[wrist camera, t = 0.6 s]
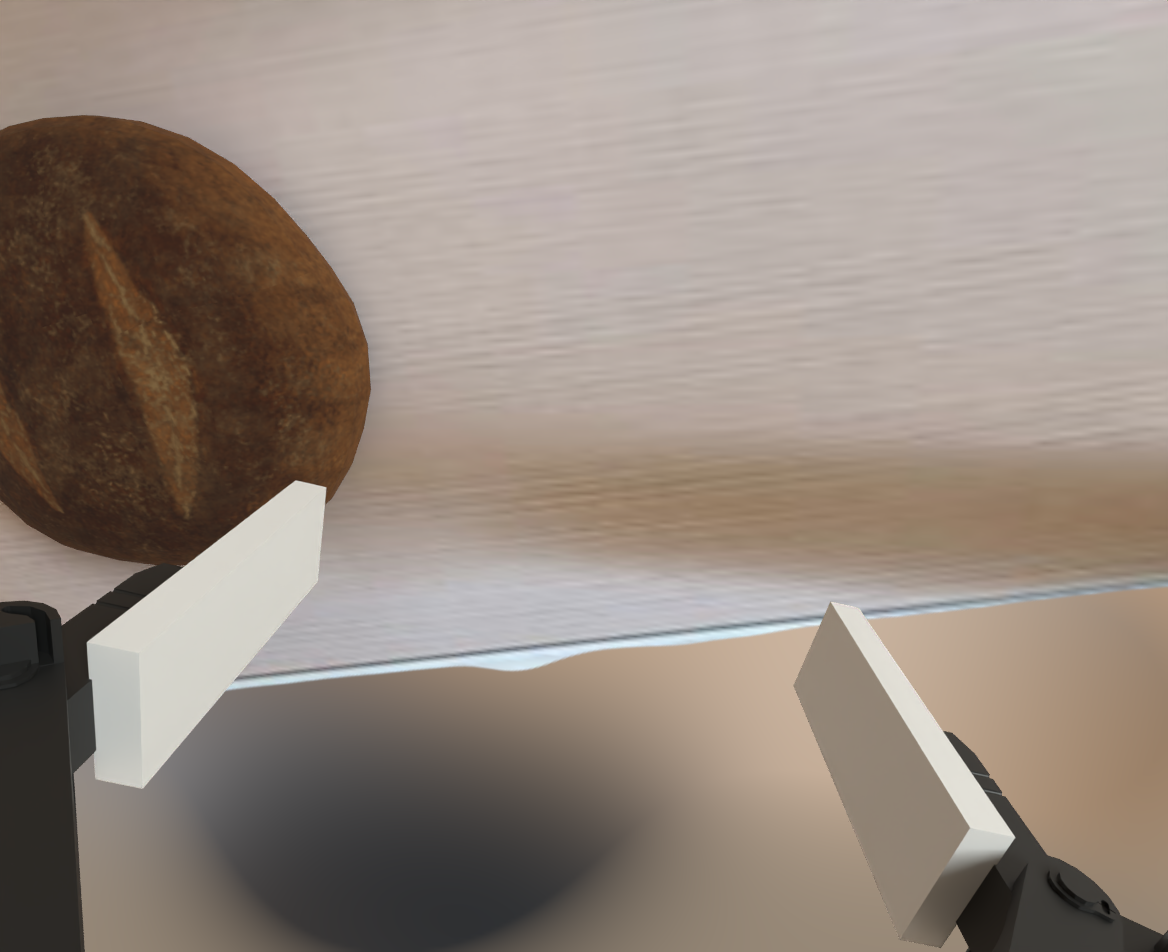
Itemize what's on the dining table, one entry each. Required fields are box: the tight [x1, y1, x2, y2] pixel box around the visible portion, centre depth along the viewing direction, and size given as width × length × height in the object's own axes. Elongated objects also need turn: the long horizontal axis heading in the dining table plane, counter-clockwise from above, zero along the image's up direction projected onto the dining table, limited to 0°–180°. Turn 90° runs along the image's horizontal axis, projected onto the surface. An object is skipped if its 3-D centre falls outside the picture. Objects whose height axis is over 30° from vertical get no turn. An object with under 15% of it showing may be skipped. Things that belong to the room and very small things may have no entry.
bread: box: [0, 115, 371, 565], centre depth 38 cm, size 28×27×9 cm
